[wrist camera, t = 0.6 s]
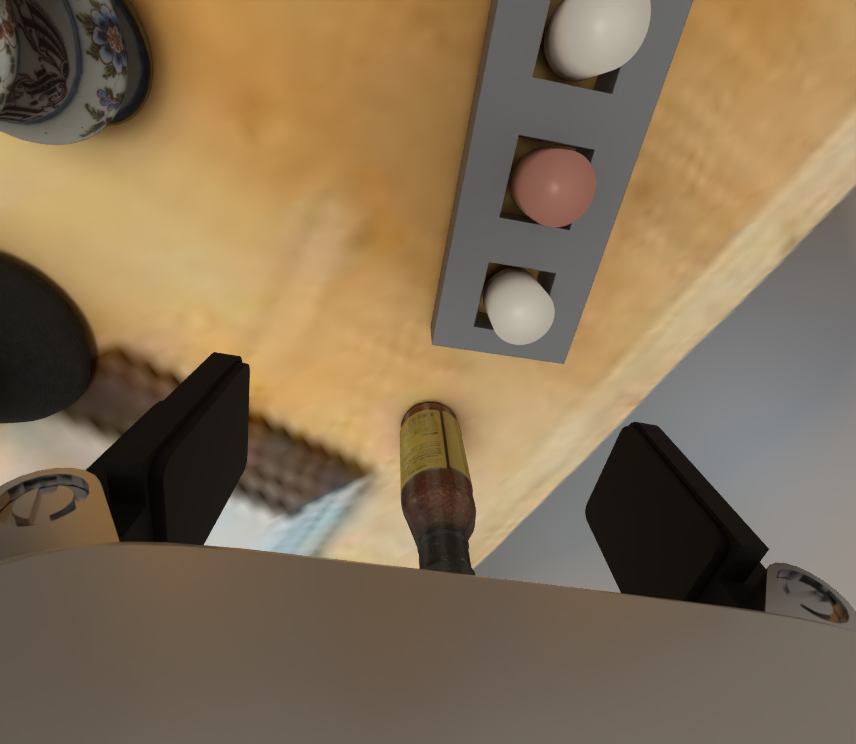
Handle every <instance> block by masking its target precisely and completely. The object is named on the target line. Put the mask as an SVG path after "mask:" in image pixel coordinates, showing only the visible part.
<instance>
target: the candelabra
mask: <svg viewBox="0 0 856 744" xmlns="http://www.w3.org/2000/svg"><path fill="white" fill-rule="evenodd" d="M90 374H91V359H90V353H89V348H88V344H87V341H86V337H85V334H84V331H83V330H82V328H81V327H80V325H79V324H78V322H77V321H76V319H75V317H74V315H73V313H72V312H71V310H70V308H69V307H68V306H67V305H66V304H65V303H64V302H63V301H62V300H61V299H60V298H58V297H57V296H56V294H55V293H54V292H53V291H52V290H51V289H50V288H49V287H48V286H47V284H45V283H43V282H42V281H40V280H38V279H36V278H35V277H33V276H32V275H31V274H29V273H28V272H26V271H25V270H23V269H22V268H20V267H19V266H17V265H15V264H13V263H11V262H9V261H7V260H4V259H2V258H0V423H18V422H28V421H35V420H39V419H43V418H46V417H48V416H50V415H52V414H55V413H57V412H59V411H61V410H63V409H65V408H68V407H69V406H70V405H72V404H73V403H74V402H76V401H77V400H78V398H79V397H80V396H81V395H82V394H83V392H84V390H85V389H86V387H87V385H88V381H89V378H90Z"/></svg>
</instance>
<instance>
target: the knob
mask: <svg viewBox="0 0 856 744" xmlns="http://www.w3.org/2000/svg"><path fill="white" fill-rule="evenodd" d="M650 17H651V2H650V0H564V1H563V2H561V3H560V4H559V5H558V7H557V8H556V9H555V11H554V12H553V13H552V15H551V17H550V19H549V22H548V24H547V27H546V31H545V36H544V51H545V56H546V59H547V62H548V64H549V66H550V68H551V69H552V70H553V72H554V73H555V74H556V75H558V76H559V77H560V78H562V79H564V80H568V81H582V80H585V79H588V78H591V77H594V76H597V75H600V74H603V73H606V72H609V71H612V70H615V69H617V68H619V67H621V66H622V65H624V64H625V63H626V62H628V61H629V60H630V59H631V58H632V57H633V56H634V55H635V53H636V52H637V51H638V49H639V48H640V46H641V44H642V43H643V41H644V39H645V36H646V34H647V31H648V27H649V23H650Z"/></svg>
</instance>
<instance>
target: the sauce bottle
mask: <svg viewBox="0 0 856 744" xmlns="http://www.w3.org/2000/svg"><path fill="white" fill-rule="evenodd" d="M400 471H401V505H402V511H403V514H404V517H405V519H406V521H407V523H408V525H409V528H410V530H411V533H412V535H413V538H414V540H415V543H416V545H417V548H418V553H419V565H420V569H423V570H432V571H440V572H448V573H457V574H465V575H473V576H476V575H475V572H474V571H473V569H472V568H471V563H470V557H469V551H468V549H469V543H468V540H469V538H470V536H471V535H472V533H473V531H474V527H475V518H476V507H475V503H474V499H473V494H472V493H473V489H472V483H471V479H470V474H469V469H468V464H467V459H466V454H465V450H464V445H463V441H462V436H461V431H460V427H459V425H458V423H457V419H456V417H455V415H454V414H453V413H452V412H451V411H450V410H449V409H447V408H446V407H444V406H442V405H440V404H438V403H425V404H419V405H417V406H415V407H413V408H412V409H410V410H409V411H408V413H407V414H406V415H405V417H404V419H403V420H402V424H401V431H400Z"/></svg>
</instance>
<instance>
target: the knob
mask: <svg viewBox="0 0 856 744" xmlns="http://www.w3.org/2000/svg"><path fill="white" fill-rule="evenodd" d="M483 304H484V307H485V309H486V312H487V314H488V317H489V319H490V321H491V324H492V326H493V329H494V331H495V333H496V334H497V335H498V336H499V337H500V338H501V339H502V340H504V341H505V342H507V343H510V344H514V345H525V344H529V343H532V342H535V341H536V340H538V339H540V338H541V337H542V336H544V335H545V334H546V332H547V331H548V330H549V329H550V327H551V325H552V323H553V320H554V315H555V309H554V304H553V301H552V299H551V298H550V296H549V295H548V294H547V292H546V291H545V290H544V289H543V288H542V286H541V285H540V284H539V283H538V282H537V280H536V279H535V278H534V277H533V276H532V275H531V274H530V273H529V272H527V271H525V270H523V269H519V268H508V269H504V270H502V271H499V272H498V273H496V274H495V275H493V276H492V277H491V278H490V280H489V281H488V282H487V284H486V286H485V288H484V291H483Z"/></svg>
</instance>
